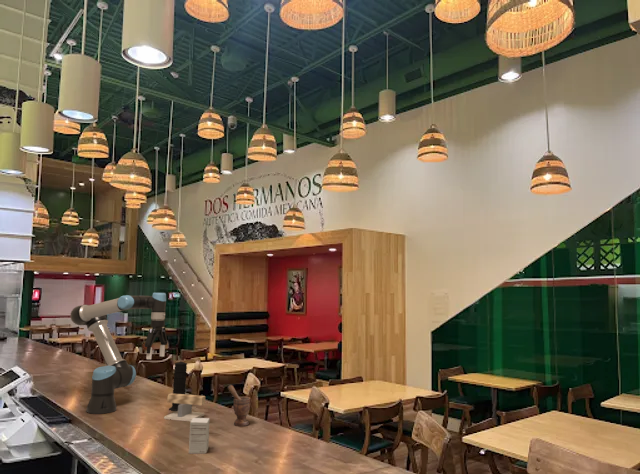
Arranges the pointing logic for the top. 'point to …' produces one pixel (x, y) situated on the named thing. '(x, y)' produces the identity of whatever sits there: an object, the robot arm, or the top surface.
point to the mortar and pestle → (240, 407)
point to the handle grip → (179, 382)
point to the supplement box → (199, 435)
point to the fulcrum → (184, 413)
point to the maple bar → (186, 399)
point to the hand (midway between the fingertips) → (155, 357)
